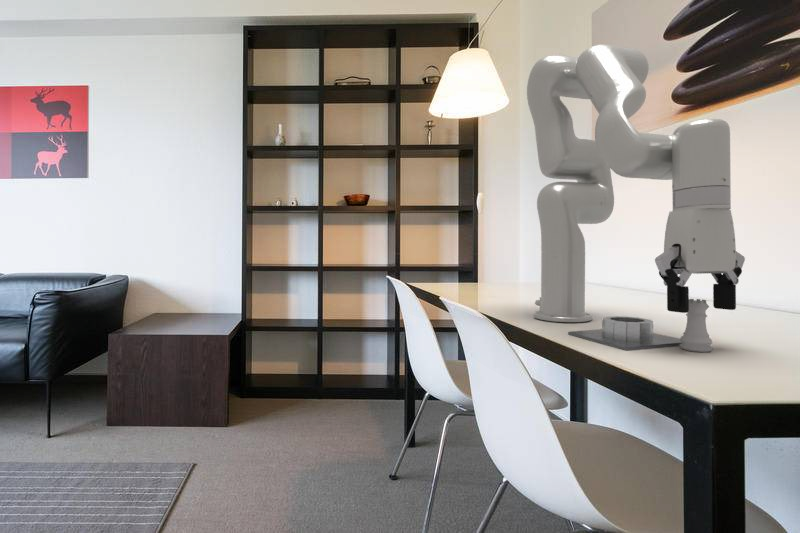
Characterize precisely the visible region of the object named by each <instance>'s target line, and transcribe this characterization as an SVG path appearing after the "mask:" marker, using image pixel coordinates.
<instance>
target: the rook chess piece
mask: <svg viewBox="0 0 800 533" xmlns="http://www.w3.org/2000/svg"><path fill="white" fill-rule="evenodd" d="M709 308H710V306H709V305H708V304H707V300H706V299H700V298H696V300H695V299H694V298H689V311H688V312H687V313H685V315H686V326H685V330H684V332H683V334H682V335H681V337H680V338H679V339H680V340H681V342H682V344H680V346H679V347H680V348H681V349H682V350H684V351H688V352H694V353H710V352H711V351H712V350H713V347H712V346H711V345H712V344H713V340H712V338H710V335H709V334H708V333H709V332H708V329H707V323H706V318H707V317H708V315H707V312H706V311H707V310H708V309H709Z"/></svg>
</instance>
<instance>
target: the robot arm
mask: <svg viewBox="0 0 800 533" xmlns="http://www.w3.org/2000/svg"><path fill="white" fill-rule="evenodd" d="M648 75H649V62H648V59H647V57H646V55H645V54H644V53H643V52H642V51H640V50H639V49H636V48H631V47H623V46H618V45H612V44H604V43H603V44H602V43H601V44H596V45H592V46H589V47H588V48H585V50H584V51H582V53H581V54H580V55H579V56H577V57H576V56H569V55H563V54H562V55H561V54H555V55H554V54H551V55H547V56H544V57H542V58H540V59H538V60H537V61H536V62H535V63H534V65H533V66H532V68H531V70H530V73H529V76H528V79H527V84H526V85H527V86H526V99H527V105H528V110H529V111H530V114H531V118H532V121H533V124H534V132H535V133H534V134H535V142H536V149H537V157H538V164H539V168H540V172H541V174H542V175H543V176H545V177H546V178H549V179H554V180H556V179H557V180H571V181H555V182H551V183H547V185H545V186H544V187H542V189H540V191H539V193H538V196H537V198H536V209H537V215H538V220H539V224H540V225H539V227H540V235H541V236H540V238H541V239H540V240H541V243H540V244H541V246H540V248H541V249H540V251H541V253H540V254H541V256H540V258H541V260H540V261H541V264H540V269H541V274H540V275H541V276H540V277H541V278H540V287H541V288H540V292H541V293H540V296H539V299H536V300H535V301H534V304H535V306H539V310H537V311H534V313H533V315H534V316H533V317H534V318H535V319H538V320H541V321H547V322H553V323H554V322H557V323H585V322H590V321H592V320H593V315H592V314H591V313H589V312H586V311H585V310H586V309H585V308H586V307H585V306H586V305H585V304H586V300H585V299H586V298H585V297H586V283H585V282H586V241H585V237H584V234H583V232H582V230H581V227H580V226H579V224H580V225H594V224H595V225H597V224H601V223H604V222H606V221H607V220H608V219H609V218H610V217H611V215H612V214H613V210H614V207H615V195H614V194H615V192H614V186H613V180H612V179H613V178H612V171H613V173H615V174H616V175H618V176H620V177H624V178H629V179H646V180H648V179H649V180H662V181H667V180H668V181H669V180H672V181H671V182H672V185H671V187H672V188H671V189H672V190H671V192H672V193H671V195H672V211H671V210H670V211H669V212H668V215H667V222H666V226H665V231H664V243H663V252H662V253H661V254H659V255H658V256H656V257H655V258H654V263H655V265H656V267H657V269H658V275H659V276H660V278H661V279H662V280H663V285H664V286H665V287H666V310H667V311H669V312H674V313H682V314H687V313H688V311H689V299H690V296H689V292H690V291H689V286H685V285H686V283H687V282H688V281H689V278H690V277H691V275H692V274H694V275H695V274H697V275H698V274H699V275H701V274H711V276H712V278H713V279H714V281H715V283H713V286H712V288H713V289H712V290H713V291H712V292H713V294H712V295H713V296H712V298H713V302H712V305H713V308H715V309H718V310H728V311H729V310H730V311H735V310H736V308H737V289H736V288H737V285H738V284H739V277H740V276H741V275H742V272H743V270H742V268H743V266H744V264H745V260H746V257H745V256H744V255H742V254H741V253H740V252H738V251H737V250H736V249H737V248H736V234H735V227H734V226H735V225H734V220H733V215H732V214H733V213H732V210H731V209H732V208H731V207H732V206H731V202H732V201H731V198H732V195H731V194H732V193H731V192H732V191H731V189H732V188H731V186H732V185H731V183H732V182H731V181H732V180H731V127H730V125H729V123H728V122H727V121H725V120H723V119H720V118H705V119H698V120H693V121H690V122H686V123H684V124H681V125H679V126H678V127H677V128H676V129H674V131H673V133H672V134H671V135H669V134H659V133H649V132H639V131H638V130H637V129H636V128H635V127H634V125H633V124H632V122H631V121H630V118H631V117H633V116H634V115H636V113H637V112H639V110H640V109H641V108H642V106H643V105H644V103H645V101H646V99H647V98H646V97H647V90H646V88H645V86H644V85H643V84H644V83H645V82H646V79H647V77H648ZM561 97H563V98H564V97H565V98H572V99H581V100H590V102H591V103H592V105H593V106H594V108H595V110H596V111H597V113H598V115H597V119H596V122H595V128H594V140H593V139H586V138H585V139H584V138H578V137H577V136H576V133H575V130H574V123H573V117H572V115H571V113H570V111H569V109H568V108H567V105H565V103H563V101H562V100H561ZM611 170H612V171H611ZM572 180H573V181H572ZM574 180H576V181H574Z"/></svg>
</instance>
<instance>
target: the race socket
mask: <svg viewBox="0 0 800 533" xmlns="http://www.w3.org/2000/svg"><path fill="white" fill-rule="evenodd" d="M601 326H602V327H601V328H599V329H588V330H587V329H586V330H576V331H575V330H574V331H571V330H570V331H568V332H567V335H570V336H573V337H577V338H579V339H580V338H581V339H583V340H586V341H587V340H588V341H590V342H594V343H597V344H602V345H606V346H609V347H612V348H616V349H619V350H623V351H636V350H648V349H657V348H667V347H670V348H671V347H678V346H679V347H680V344H682V342H681V340H680V338H678V337H673V336H670V335H664V334H660V333H656V332H654V321H653V320H651V319H650V318H643V317H638V316H637V317H636V316H624V315H623V316H621V315H620V316H618V315H614V316H613V315H611V316H604V317H602V320H601Z"/></svg>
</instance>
